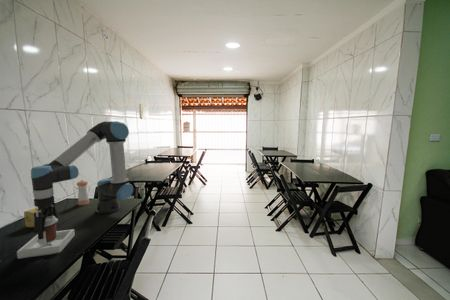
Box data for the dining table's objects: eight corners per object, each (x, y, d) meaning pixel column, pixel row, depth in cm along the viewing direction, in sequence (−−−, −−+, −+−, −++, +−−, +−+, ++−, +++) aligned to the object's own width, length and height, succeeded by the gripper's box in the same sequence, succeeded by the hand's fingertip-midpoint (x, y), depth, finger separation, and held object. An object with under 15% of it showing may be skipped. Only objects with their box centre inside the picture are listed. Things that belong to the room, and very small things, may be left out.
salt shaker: (84, 201, 164) (82, 178, 162) (91, 202, 162) (89, 179, 160) (75, 204, 157) (73, 180, 155) (82, 205, 155) (80, 181, 153)
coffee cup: (43, 247, 97) (40, 224, 96) (31, 243, 101) (29, 220, 99) (63, 237, 106) (61, 216, 105) (52, 234, 109) (50, 213, 108)
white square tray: (74, 235, 114) (74, 229, 113) (59, 252, 98) (59, 246, 98) (39, 239, 109) (38, 233, 109) (17, 258, 93) (16, 251, 93)
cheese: (38, 229, 120) (36, 213, 119) (24, 227, 122) (22, 211, 121) (55, 221, 130) (54, 206, 129) (42, 219, 133) (41, 205, 131)
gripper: (47, 190, 110) (51, 229, 113) (19, 205, 89) (25, 252, 92) (63, 189, 112) (66, 227, 115) (40, 204, 91) (44, 250, 94)
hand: (48, 238), depth 103 cm, fingers closed on coffee cup, 9 cm apart
